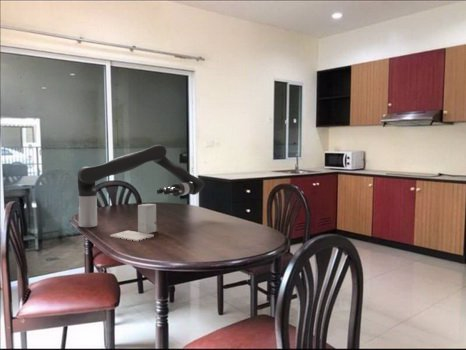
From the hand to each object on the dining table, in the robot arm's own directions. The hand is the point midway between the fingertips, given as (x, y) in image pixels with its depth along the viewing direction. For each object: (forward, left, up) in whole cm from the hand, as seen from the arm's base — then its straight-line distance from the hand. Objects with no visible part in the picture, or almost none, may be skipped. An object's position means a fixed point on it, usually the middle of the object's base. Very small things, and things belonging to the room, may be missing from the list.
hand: (161, 192), depth 207 cm
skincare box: (0, -11, -20) cm, 23 cm away
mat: (0, -22, -20) cm, 30 cm away
